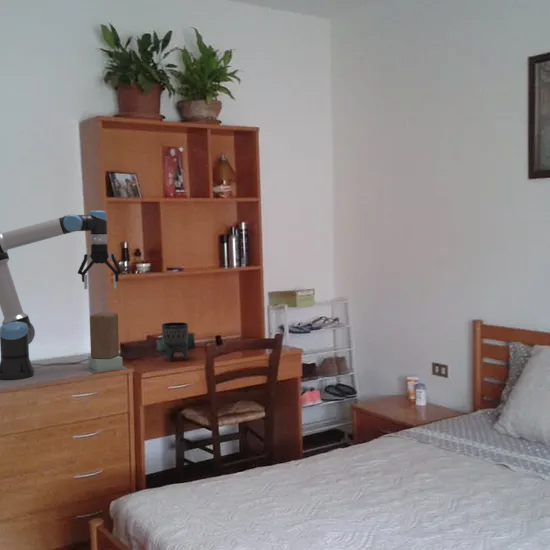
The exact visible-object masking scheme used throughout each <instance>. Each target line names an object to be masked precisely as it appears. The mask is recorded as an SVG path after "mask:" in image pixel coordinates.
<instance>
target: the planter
mask: <svg viewBox="0 0 550 550" xmlns="http://www.w3.org/2000/svg"><path fill="white" fill-rule="evenodd" d="M161 338H162V344H163V346H166V348H165V349H166V362H167V363H169V362H171V359H173V358H174V357H175V354H174V353H175V349H178V350H180V352H181V353H182V354H183V360H184V361H187V360H188V341H189V323H187V322H180V321H179V322H176V321H175V322H174V321H172V322H165V323H162V324H161Z"/></svg>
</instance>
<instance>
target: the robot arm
mask: <svg viewBox="0 0 550 550" xmlns="http://www.w3.org/2000/svg"><path fill="white" fill-rule="evenodd" d="M107 216H108V215H107V212H106V210H90V211H89V214H75V213H71V214H66V215H63V216H61V217H58V218H55V219H50V220H46V221H43V222H39V223H36V224H33V225H28V226H25V227H21V228H16V229H13V230H9V231H6V232H1V231H0V309H1V312H2V315H3V318H4V319H3V320H2V322H1V324H2V325H1V326H0V380H21V379H25V378H26V379H27V378H30V377H33V376H34V374H35V372H34V368H33V365H32V362H31V359H30V353H29V351H30V350H29V346H30V344H31V343H32V342H33V341H34V338H35V335H36V333H35V332H36V331H35V327H34V325H33V324H32V323H31V320H30V318H29V315H28V314H26V313H25V312H24V310H23V308H22V305H21V302H20V301H21V300H20V297H19V296H18V295H19V294H18V293H17V292H18V291H17V289H16V286H15V283H14V280H13V277H12V274H11V271H10V268H9V264H8V262H9V260H10V257H9V253H8V250H9V251H10V250H12V249H15V248H19V247H23V246H27V245H30V244H34V243H37V242H38V243H39V242H42V241H44V240H47V239H52V238H56V237H59V236H62V235H67V234H71V233H75V232H90V243H91V244H90V254H88V253H85V254H84V255H83V259H82V262H81V264H80V266H79V268H78V271H77V274H78V275H81V281H82V283H83V284H84V286H83V287H84V290H88V274H87V273H88V272H89V271H90V269H91V268H92V267H93V266H94V265H95V264H105V265H106V266H107V267H108V268H109V269H110V270H111V272H113V273H114V274H113V275H112V276H113V278H112V279H113V289H114V290H117V282H119V274H122V273H123V270H122V268H121V266H120V264H119V263H118V260H117V259H116V255H115V253H110V254H109V251H108V250H109V248H108V247H109V245H108V244H107V243H108V218H107ZM109 258H110V259H111V261H112V262H113V265H114V266H115V267H114V266H113V265H112V263H110V261H109V260H108V259H109ZM89 259H91V260H90V262H89V264H88V265H87V266H86V268H85V265H86V263H87V262H88V260H89ZM84 268H85V269H84Z"/></svg>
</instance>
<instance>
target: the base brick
mask: <svg viewBox="0 0 550 550" xmlns="http://www.w3.org/2000/svg"><path fill="white" fill-rule="evenodd" d="M88 366H89V367H90V368H91V369H93V370H95V371H97V372H98V371H106V370H114V369H122V368H123V366H124V364H123V357H122V356H119V355H117V356H115V357H113V358H111V359H95V358H91V355H89V356H88Z"/></svg>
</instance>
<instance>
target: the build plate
mask: <svg viewBox="0 0 550 550" xmlns="http://www.w3.org/2000/svg"><path fill="white" fill-rule="evenodd" d="M83 369H86V370H88V371H89V372H91V373H93V374H96V373H97V374H98V373H105V372H113V371H112V370H106V371H98V372H97V371H95V370H93V369H91V368H90V367H89V365H88V366H83ZM114 370H115V371H120V370H121V371H122V370H129V368H128V367H125V366H124V365H123V368H122V369H114Z"/></svg>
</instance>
